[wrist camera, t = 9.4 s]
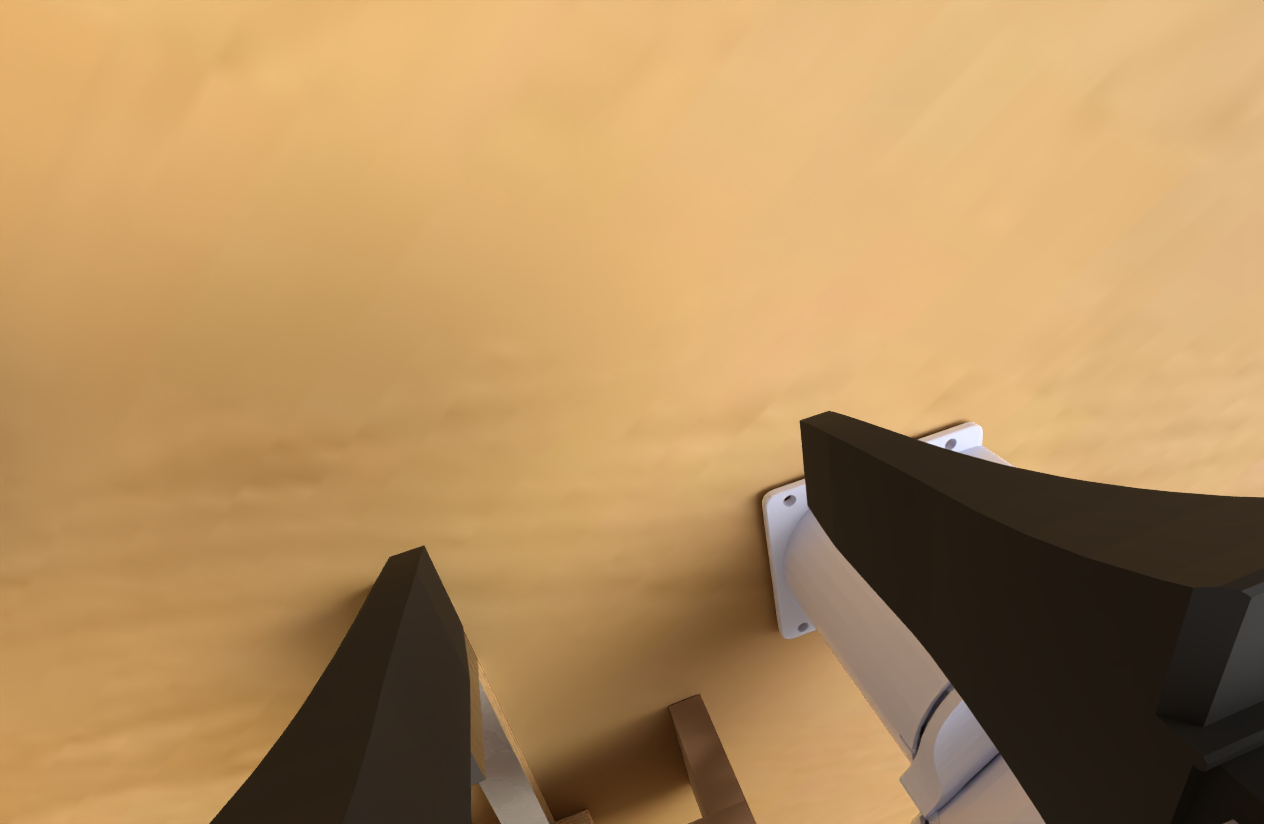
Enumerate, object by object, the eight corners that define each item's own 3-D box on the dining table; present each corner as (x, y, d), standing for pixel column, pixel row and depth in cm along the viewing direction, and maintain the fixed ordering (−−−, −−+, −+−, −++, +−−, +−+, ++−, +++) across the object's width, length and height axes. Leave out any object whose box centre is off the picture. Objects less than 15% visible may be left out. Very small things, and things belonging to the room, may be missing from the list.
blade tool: (332, 597, 22) (306, 721, 18) (476, 548, 22) (485, 656, 18) (491, 861, 30) (500, 989, 26) (592, 820, 31) (617, 938, 27)
